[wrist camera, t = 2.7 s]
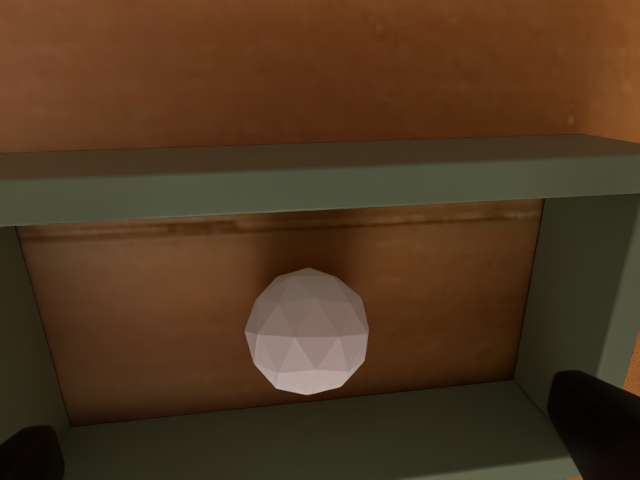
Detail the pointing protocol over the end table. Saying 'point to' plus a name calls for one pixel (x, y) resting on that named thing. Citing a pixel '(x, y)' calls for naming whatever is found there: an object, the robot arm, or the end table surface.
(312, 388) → the polyhedron
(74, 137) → the end table surface
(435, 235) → the end table surface
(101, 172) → the box frame
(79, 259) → the end table surface
